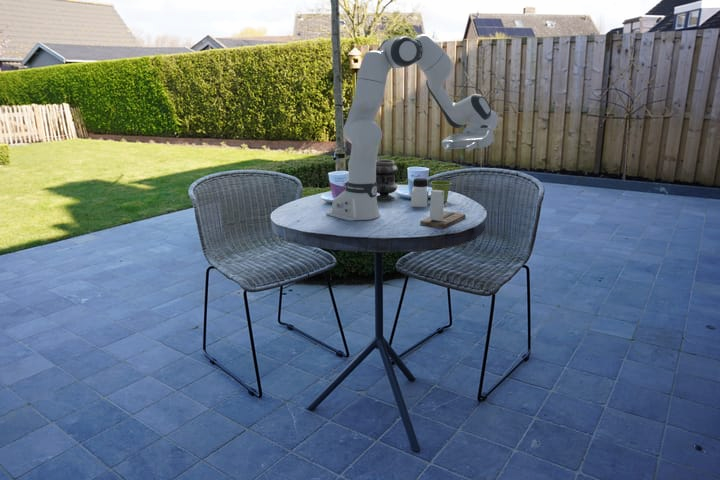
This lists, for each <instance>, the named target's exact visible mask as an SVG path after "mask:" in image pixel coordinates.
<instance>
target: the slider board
mask: <svg viewBox="0 0 720 480" xmlns="http://www.w3.org/2000/svg"><path fill="white" fill-rule="evenodd" d="M464 219H466V214H465V213H459V212H453V211H448V210H447V211H445V210H443V219H442V220H440V221H437V220H431V219H430V216H428V217H426V218H424V219H422V220H420V221H419V222H420V223H419V225H421V226H426V227H432V228H438V229H442V230H443V229H446V228H449V226H453V225H454V224H456V223H458V222H459V221H460V222H461V221H462V220H464Z"/></svg>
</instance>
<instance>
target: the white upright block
mask: <svg viewBox="0 0 720 480" xmlns="http://www.w3.org/2000/svg"><path fill="white" fill-rule="evenodd" d="M444 205H445V202H444V191H442V190H432V189H431V190H430V206H429V209H430V211H429V217H430V219H431V220H437V221H440V220H442V219H443V211H444V207H445V206H444Z"/></svg>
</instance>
